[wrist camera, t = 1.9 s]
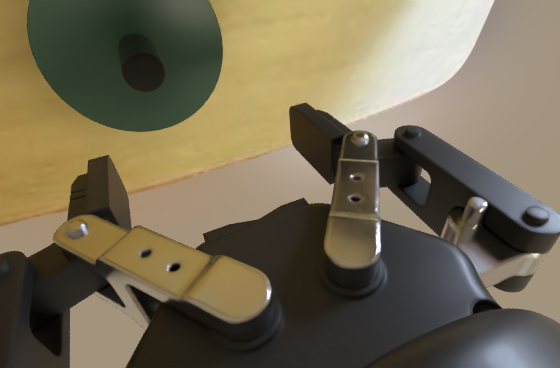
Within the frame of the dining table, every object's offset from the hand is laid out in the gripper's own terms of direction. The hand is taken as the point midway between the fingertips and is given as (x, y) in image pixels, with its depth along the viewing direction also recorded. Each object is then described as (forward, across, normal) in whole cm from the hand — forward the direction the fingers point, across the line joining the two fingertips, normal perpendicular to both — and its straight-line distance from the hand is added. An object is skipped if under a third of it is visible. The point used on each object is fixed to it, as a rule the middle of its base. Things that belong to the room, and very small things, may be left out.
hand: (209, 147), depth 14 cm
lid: (+14, +2, -1) cm, 14 cm away
